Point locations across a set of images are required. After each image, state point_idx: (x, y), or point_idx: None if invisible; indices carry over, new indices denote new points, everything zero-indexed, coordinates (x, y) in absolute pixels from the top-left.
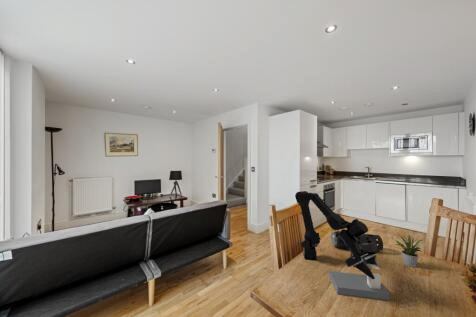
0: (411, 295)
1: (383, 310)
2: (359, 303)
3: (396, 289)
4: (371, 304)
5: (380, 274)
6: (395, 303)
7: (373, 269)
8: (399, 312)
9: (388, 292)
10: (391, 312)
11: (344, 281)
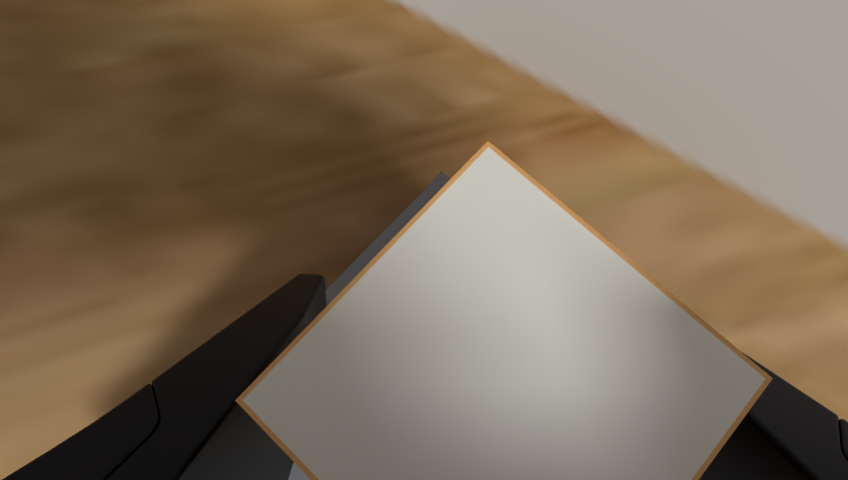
0: (96, 99)
1: (680, 184)
2: (840, 391)
3: (99, 236)
4: (711, 298)
5: (324, 279)
6: (429, 152)
7: (679, 314)
8: (551, 85)
9: (429, 187)
10: (630, 128)
11: None
